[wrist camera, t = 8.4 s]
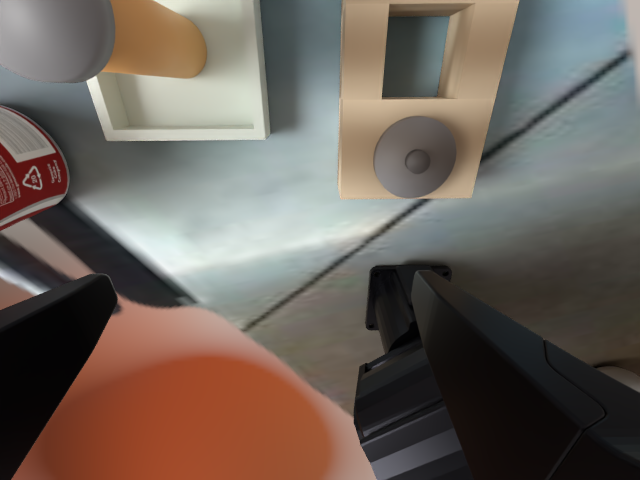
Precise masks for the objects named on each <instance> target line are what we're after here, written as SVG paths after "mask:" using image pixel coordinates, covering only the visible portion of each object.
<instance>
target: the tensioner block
mask: <svg viewBox="0 0 640 480" xmlns="http://www.w3.org/2000/svg"><path fill="white" fill-rule="evenodd" d="M518 4H519V0H342V4H341V50H340V96H339V142H338V189H339V194H340V199H422V198H471V196H472V192H473V188H474V184H475V180H476V176H477V172H478V168H479V164H480V160H481V156H482V151H483V147H484V143H485V139H486V135H487V131H488V127H489V123H490V119H491V115H492V111H493V106H494V102H495V98H496V94H497V90H498V86H499V82H500V78H501V74H502V70H503V66H504V61H505V57H506V53H507V49H508V45H509V41H510V37H511V33H512V29H513V25H514V21H515V16H516V12H517V8H518ZM404 16H450V19H449V25H448V31H447V37H446V44H445V50H444V56H443V62H442V68H441V75H440V81H439V87H438V93H437V97H382V87H383V75H384V63H385V50H386V38H387V26H388V17H404Z"/></svg>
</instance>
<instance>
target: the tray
mask: <svg viewBox="0 0 640 480" xmlns="http://www.w3.org/2000/svg"><path fill="white" fill-rule="evenodd" d="M154 1H156V2H157V3H159V4H161V5H163V6H165V7H167V8H169V9H170V10H172V11H174V12H176V13H178V14H180V15H182V16H183V17H185V18H187V19H189V20H190V21H192V22H193V23H194V24H195V25H196V26H197V27H198V29H199V30H200V32H201V33H202V35H203V37H204V40H205V43H206V47H207V59H206V63H205V66H204V68H203V69H202V71H201V72H200V73H199V74H198V75H196V76H195V77H192V78H188V79H182V78H170V77H159V76H147V75H136V74H124V73H113V72H100V73H99V74H97V75H96V76H94V77H93V78H91V79H89V80H87V84H88V87H89V90H90V93H91V96H92V99H93V102H94V105H95V108H96V112H97V115H98V118H99V121H100V124H101V127H102V130H103V133H104V136H105V139H106V141H176V140H266V139H267V137H268V136H269V135H270V134H271V132H270V120H269V108H268V95H267V83H266V70H265V58H264V45H263V33H262V21H261V8H260V0H154Z"/></svg>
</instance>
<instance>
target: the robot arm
mask: <svg viewBox="0 0 640 480" xmlns="http://www.w3.org/2000/svg"><path fill="white" fill-rule="evenodd" d="M445 271H447V272H446V273H444V274H443V272H445ZM375 272H379V273H378V274H374V273H375ZM451 275H452V271H451V270H450V268H449V267H448V266H429V265H399V266H386V267H373V268H372V269H371V270H370V275H369V287H368V298H367V310H366V321H365V324H366V328H367V329H368V330H379V332H380V336H381V340H382V344H383V348H384V352H385V355H383V356H381V357H379V358H377V359H376V360H374V361H372V362H370V363H368V364H367V363H365V364H363V365H361V366H360V367H359V375H358V382H357V389H356V397H355V402H354V425H355V427H356V431H357V434H358V437H359V440H360V445H361V446H362V448H363V450H364V452H365V454H366V456H367V458H368V460H369V462H370V464H371V466H372V469H373V471H374V474H375V476H376V479H377V480H640V392H638V391H636V390H634V389H632V388H631V387H629V386H627V385H625V384H623V383H621V382H619V381H617V380H616V379H614V378H612V377H610V376H608V375H606V374H605V373H603V372H601V371H599V370H597V369H595V368H594V367H592V366H590V365H588V364H586V363H585V362H583V361H581V360H580V359H578V358H576V357H574V356H573V355H571V354H569V353H567V352H566V351H564V350H562V349H561V348H559V347H557V346H556V345H554V344H552V343H551V342H549V341H547V340H543V338H542V337H541V336H539V335H537V334H536V333H534V332H532V331H531V330H529V329H527V328H526V327H524V326H522V325H521V324H519V323H517V322H516V321H514V320H512V319H511V318H509V317H507V316H506V315H504V314H502V313H501V312H499V311H497V310H496V309H494V308H492V307H491V306H489V305H487V304H486V303H484V302H482V301H481V300H479V299H477V298H476V297H474V296H472V295H471V294H469V293H467V292H466V291H464V290H462V289H461V288H459V287H457V286H456V285H454V284H452V283H451V282H450V279H451ZM117 300H118V298H117V294H116V292H115V289H114V287H113V284H112V282H111V279H110V277H109V276H108V275H106V274H89V275H87V276H84V277H82V278H79V279H77V280H74V281H72V282H69V283H67V284H64V285H62V286H59V287H57V288H54V289H52V290H49V291H47V292H44V293H42V294H39V295H37V296H34V297H32V298H30V299H27V300H24V301H22V302H20V303H17V304H15V305H12V306H9V307H7V308H5V309H2V310H0V480H11V479H12V477H13V476H14V474H15V473H16V471H17V469H18V468H19V466H20V465H21V463H22V462H23V460H24V459H25V457H26V455H27V454H28V452H29V451H30V449H31V448H32V446H33V445H34V443H35V441H36V440H37V438H38V437H39V435H40V433H41V432H42V430H43V429H44V427H45V426H46V424H47V423H48V421H49V419H50V418H51V416H52V415H53V413H54V411H55V410H56V408H57V407H58V405H59V403H60V402H61V400H62V399H63V397H64V396H65V394H66V393H67V391H68V390H69V388H70V386H71V385H72V383H73V382H74V380H75V379H76V377H77V375H78V374H79V372H80V371H81V369H82V368H83V366H84V364H85V363H86V361H87V360H88V358H89V356H90V355H91V353H92V351H93V350H94V348H95V346H96V344H97V342H98V340H99V338H100V336H101V334H102V332H103V330H104V328H105V326H106V324H107V323H108V320H109V319H110V317H111V315H112V313H113V311H114V309H115V307H116V305H117ZM370 324H373V325H370Z"/></svg>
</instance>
